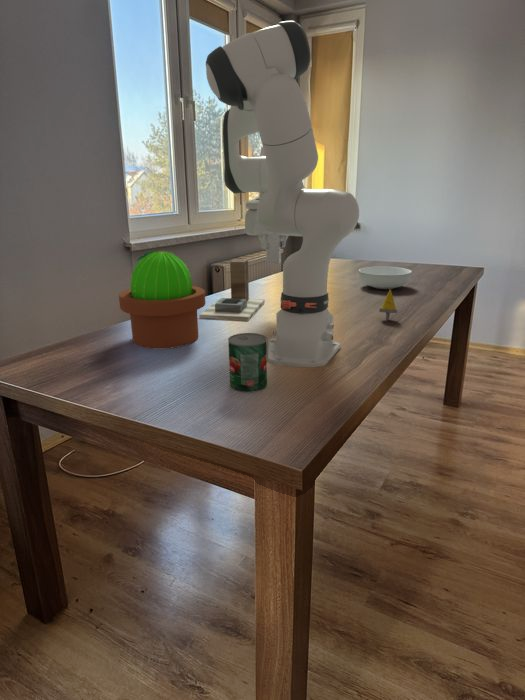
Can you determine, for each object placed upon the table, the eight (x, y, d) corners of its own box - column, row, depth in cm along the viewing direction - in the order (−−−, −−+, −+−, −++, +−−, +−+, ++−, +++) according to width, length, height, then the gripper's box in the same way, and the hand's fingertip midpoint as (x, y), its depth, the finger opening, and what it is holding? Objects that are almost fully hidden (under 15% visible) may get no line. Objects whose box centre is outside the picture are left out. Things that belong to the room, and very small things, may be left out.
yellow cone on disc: (377, 321, 147) (380, 288, 145) (379, 320, 152) (382, 288, 150) (395, 322, 145) (398, 289, 144) (396, 321, 150) (400, 289, 149)
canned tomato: (274, 389, 101) (274, 339, 97) (243, 399, 97) (241, 347, 93) (253, 377, 107) (252, 330, 104) (222, 386, 103) (220, 337, 99)
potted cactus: (222, 339, 133) (218, 248, 125) (154, 360, 118) (145, 257, 110) (175, 324, 148) (169, 241, 139) (109, 341, 133) (98, 249, 125)
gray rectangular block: (279, 263, 153) (279, 231, 149) (266, 263, 153) (266, 231, 150) (280, 261, 156) (280, 230, 153) (268, 261, 157) (268, 230, 154)
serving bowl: (407, 282, 204) (408, 266, 202) (413, 293, 185) (414, 275, 183) (357, 281, 208) (358, 265, 206) (357, 291, 188) (358, 274, 186)
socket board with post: (248, 321, 150) (247, 272, 144) (199, 319, 153) (196, 270, 148) (264, 303, 172) (264, 259, 167) (221, 301, 175) (219, 258, 170)
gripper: (291, 201, 157) (291, 244, 162) (241, 203, 145) (242, 249, 150) (305, 201, 153) (304, 246, 157) (254, 204, 140) (255, 251, 145)
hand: (273, 247), depth 153 cm, fingers closed on gray rectangular block, 6 cm apart
